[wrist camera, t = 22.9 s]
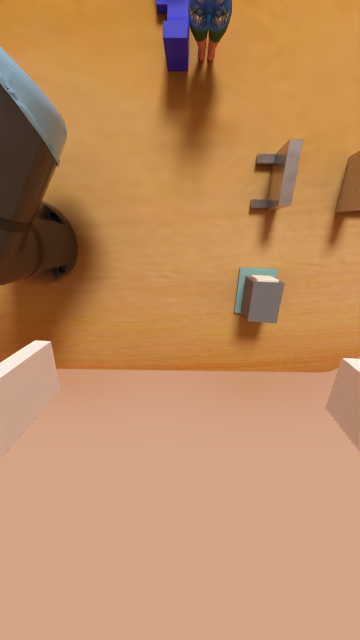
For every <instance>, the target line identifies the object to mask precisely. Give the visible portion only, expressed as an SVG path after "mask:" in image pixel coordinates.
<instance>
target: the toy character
mask: <svg viewBox="0 0 360 640" xmlns="http://www.w3.org/2000/svg"><path fill="white" fill-rule="evenodd" d="M231 13H232V0H189V5H188V16H189V24H190V29H191V31H192V33H193V35H194V37H195V40H196V41H197V44H198V47H199V58H200V60H204V57H205V47H206V39H207V33H208V30H209V45H208V46H209V49H208V60H209V61H212V60H213V56H214V53H215V48H216V46H217V44H218V42H219V41H220V39H221V38H222V36H223V35H224V33H225V32H226V29H227V27H228V24H229V21H230V17H231Z"/></svg>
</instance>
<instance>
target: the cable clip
mask: <svg viewBox="0 0 360 640" xmlns="http://www.w3.org/2000/svg"><path fill="white" fill-rule="evenodd" d="M156 5H157V12H158V14H167V21H163V40H164V47H165V54H166V61H167V67H168V71H188V61H189V30H190V24H189V16H188V5H189V0H156Z"/></svg>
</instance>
